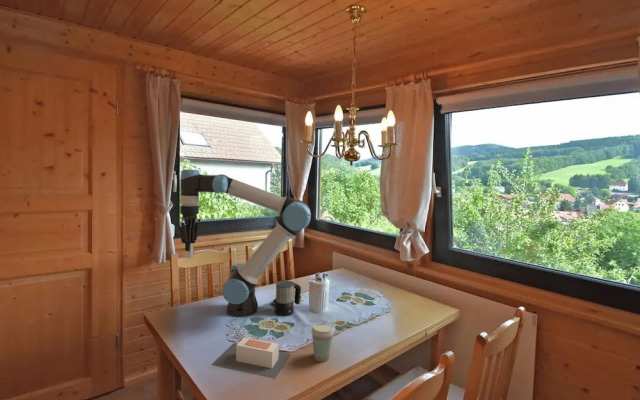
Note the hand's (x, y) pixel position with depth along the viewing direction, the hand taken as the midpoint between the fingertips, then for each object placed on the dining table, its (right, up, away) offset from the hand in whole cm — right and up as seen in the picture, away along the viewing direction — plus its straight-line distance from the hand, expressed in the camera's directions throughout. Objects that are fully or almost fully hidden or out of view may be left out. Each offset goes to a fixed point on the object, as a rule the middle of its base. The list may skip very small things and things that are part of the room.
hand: (189, 257), depth 150 cm
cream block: (+29, -30, -25) cm, 48 cm away
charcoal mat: (+33, -33, -26) cm, 54 cm away
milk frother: (+39, -30, +20) cm, 53 cm away
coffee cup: (+59, -34, -22) cm, 71 cm away
